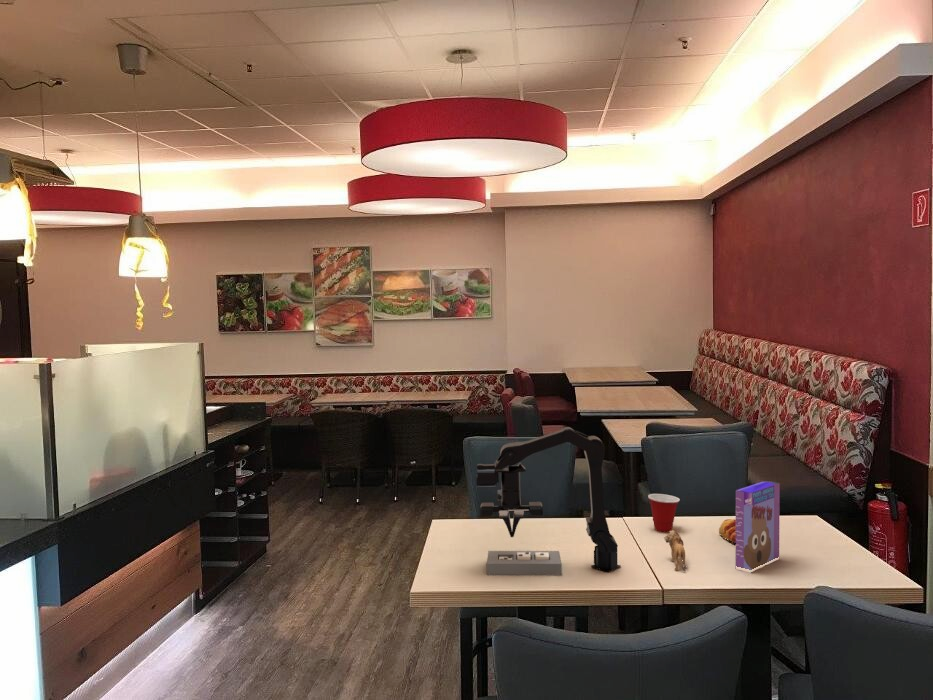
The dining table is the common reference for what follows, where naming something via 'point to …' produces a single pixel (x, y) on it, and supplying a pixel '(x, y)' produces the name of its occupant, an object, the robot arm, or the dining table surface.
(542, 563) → the tile board
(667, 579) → the dining table surface
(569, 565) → the dining table surface
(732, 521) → the croissant
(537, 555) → the tile one
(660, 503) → the plastic cup
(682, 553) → the lion figurine
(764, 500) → the cereal box
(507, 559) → the tile three
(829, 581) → the dining table surface
